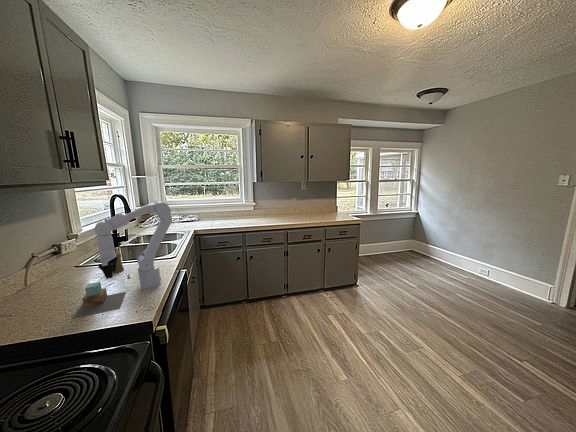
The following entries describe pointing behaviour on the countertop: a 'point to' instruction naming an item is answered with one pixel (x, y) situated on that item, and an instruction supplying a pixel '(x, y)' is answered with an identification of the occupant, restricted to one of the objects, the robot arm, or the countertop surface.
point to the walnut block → (95, 298)
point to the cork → (119, 264)
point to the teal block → (93, 289)
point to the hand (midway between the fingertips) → (111, 274)
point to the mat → (102, 306)
